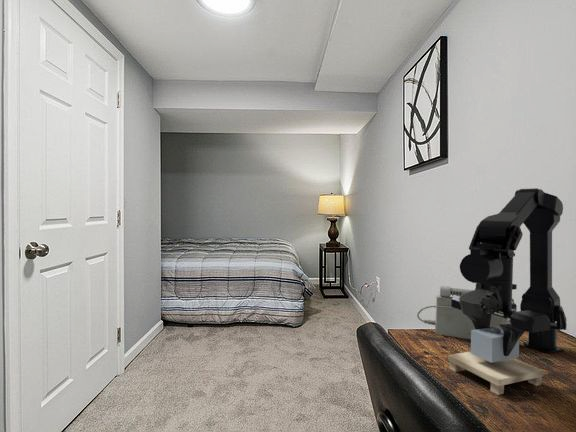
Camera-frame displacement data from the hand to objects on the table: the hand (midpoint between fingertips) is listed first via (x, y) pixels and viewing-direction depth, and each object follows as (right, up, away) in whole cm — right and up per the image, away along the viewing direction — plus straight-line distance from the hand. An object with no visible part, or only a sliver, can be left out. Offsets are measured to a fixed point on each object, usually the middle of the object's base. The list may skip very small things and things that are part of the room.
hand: (494, 350), depth 73 cm
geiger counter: (+6, -6, +24) cm, 25 cm away
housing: (0, -1, 0) cm, 1 cm away
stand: (0, -6, 0) cm, 6 cm away
